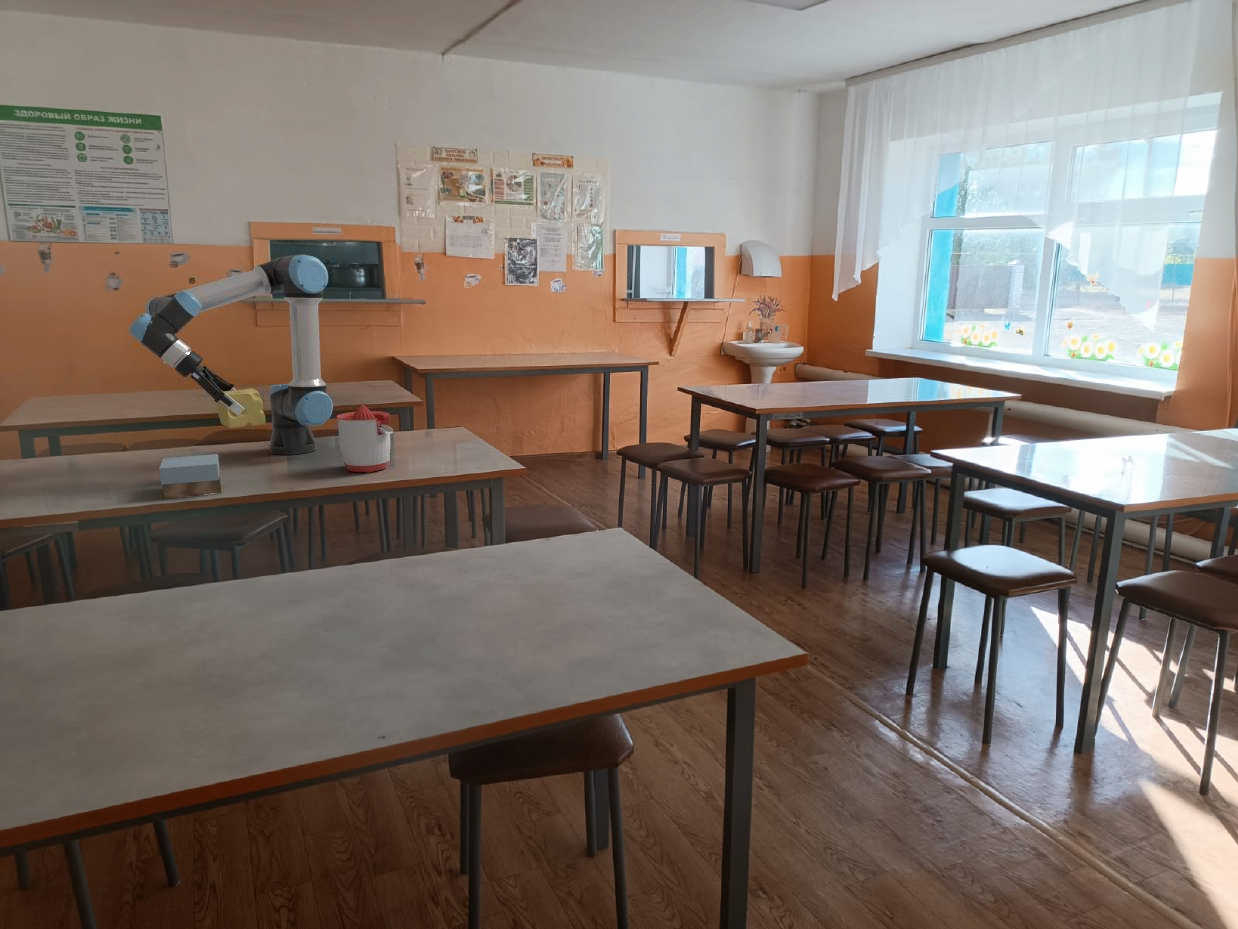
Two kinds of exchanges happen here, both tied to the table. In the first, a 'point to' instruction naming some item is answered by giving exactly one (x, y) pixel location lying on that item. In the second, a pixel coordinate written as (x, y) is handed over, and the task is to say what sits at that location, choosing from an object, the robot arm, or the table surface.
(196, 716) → the table surface
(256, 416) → the cheese
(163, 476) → the tower top block
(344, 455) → the citrus juicer
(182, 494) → the tower base block
